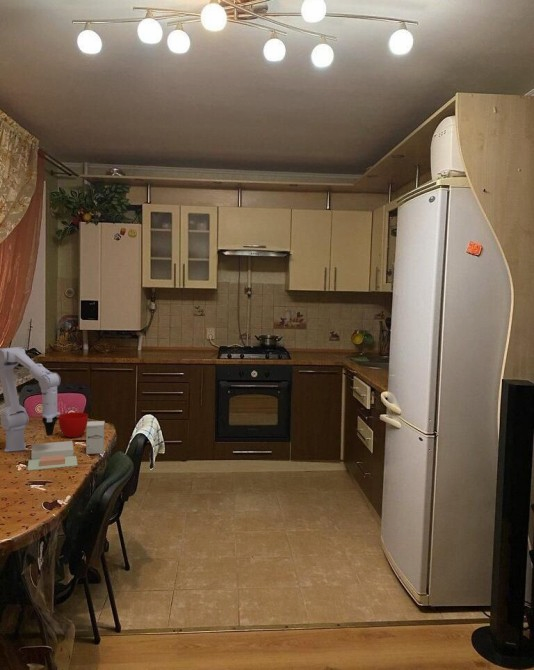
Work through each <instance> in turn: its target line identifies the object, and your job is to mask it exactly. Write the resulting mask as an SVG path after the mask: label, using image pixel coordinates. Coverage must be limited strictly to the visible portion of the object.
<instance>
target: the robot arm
mask: <svg viewBox="0 0 534 670" xmlns="http://www.w3.org/2000/svg"><path fill="white" fill-rule="evenodd" d="M19 364H20V365H21V366H23V367H24V368H26V369H27V370H29V372H28V373H29V375H30V376H31V377H32V378H34V379H35V380H36V381H38V385H39V388H40V392H41V395H42V396H41V397H42V398H41V399H42V400H41V404H42V405H41V407H42V408H41V416H42V419H41V420H42V423H43V425H44V428H45V429H44V430H45V433H46V436H49V437H50V436H53V434H54V429H55V426H56V423H57V421H58V417H57V416H59V415H61V412H59V411H58V387H59V386H60V384H61V376H60V375H59V374H58V373H57V372H53V371H52V372H51V371H50V370H48V369H47V368H46V367H44V366H43V364H42V363H35V362H34V361H33V360H32V359H31V358H30V356H29V355H28V354H26V350H25V349H24V348H23V347H22V346H16V347H6V348H5V347H4V348H0V383H1V384H0V385H1V390H2V394H3V399H4V404H5V408H4V409H3V410H2V411H1V413H0V416H1V417H0V425H1V427H2V428H3V430H4V431H5V447H4V450H3V451H4V453H6V452H7V453H8V452H9V453H10V452H19V451H25V450H26V447H27V443H26V442H25V428H26V427H27V425H28V424H29V421H30V417H29V414H28V413H27V410H26V408H25V407H23V405H21V404H20V401H19V395H18V390H17V384H16V381H15V380H16V379H15V375H14V369H15V367H16V366H18V365H19Z"/></svg>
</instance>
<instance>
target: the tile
mask: <svg viewBox="0 0 534 670" xmlns="http://www.w3.org/2000/svg"><path fill="white" fill-rule="evenodd" d="M61 464H65V455H55V456H44V457H41V460H40V466H51V465H61Z"/></svg>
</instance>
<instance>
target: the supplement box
mask: <svg viewBox="0 0 534 670" xmlns="http://www.w3.org/2000/svg"><path fill="white" fill-rule="evenodd" d="M105 424H106V422H105V420H100V421H99V420H98V421H97V420H96V421H92V420H91V421H87V426H86V429H85V430H86V435H85V436H86V437H85V440H86V441H85V443H86V444H85V447H86V448H85V454H86V455H91V454H92V455H93V454H94V455H95V454H104V451H105V426H106V425H105Z"/></svg>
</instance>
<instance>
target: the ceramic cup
mask: <svg viewBox="0 0 534 670" xmlns="http://www.w3.org/2000/svg"><path fill="white" fill-rule="evenodd" d="M88 415H89V414H87V413H86V412H80V411H78V412H77V411H76V412H75V411H74V412H73V411H72V412H65V413H60V415H58V425H59V430H60V431H61V433H62V434H63V435H64V436H65V437H66V438H67V437H76V438H79V437H78V436H80V437H81V436H82V435H83V433H85V430H86V427H87V422H88V420H89V419H88V418H89V417H88Z"/></svg>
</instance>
